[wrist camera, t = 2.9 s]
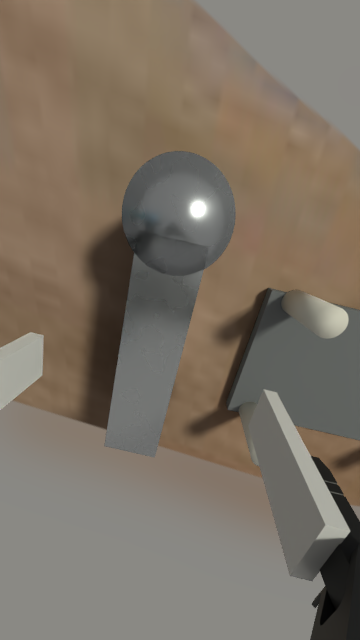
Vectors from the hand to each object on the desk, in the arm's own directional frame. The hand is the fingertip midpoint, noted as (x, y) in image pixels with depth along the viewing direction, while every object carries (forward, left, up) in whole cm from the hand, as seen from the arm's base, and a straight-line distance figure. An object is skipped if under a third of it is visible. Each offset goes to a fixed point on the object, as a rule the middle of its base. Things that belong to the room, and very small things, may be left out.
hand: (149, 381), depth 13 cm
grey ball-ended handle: (0, +2, -8) cm, 8 cm away
